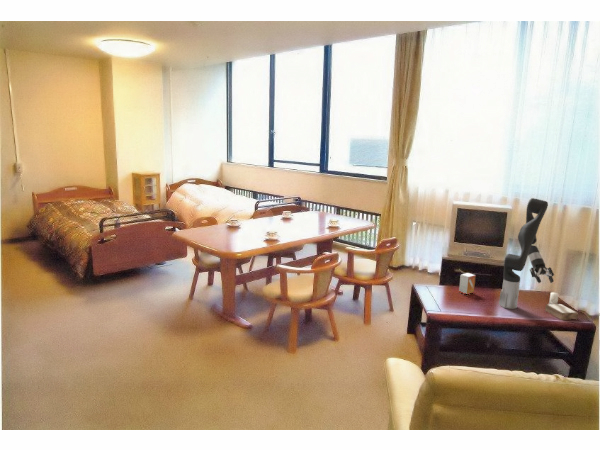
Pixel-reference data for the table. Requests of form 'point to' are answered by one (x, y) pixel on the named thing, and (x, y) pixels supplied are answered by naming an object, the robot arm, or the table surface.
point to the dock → (561, 311)
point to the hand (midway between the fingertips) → (546, 282)
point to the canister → (553, 298)
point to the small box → (467, 283)
